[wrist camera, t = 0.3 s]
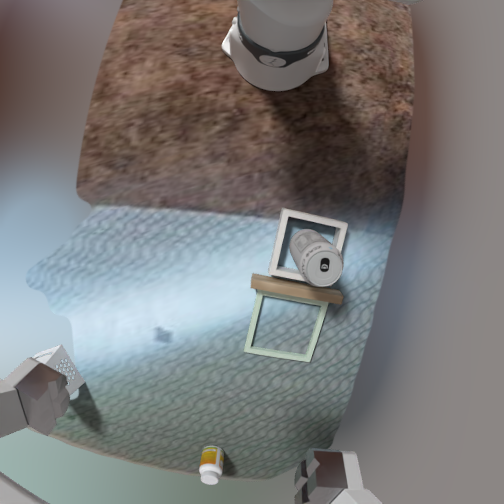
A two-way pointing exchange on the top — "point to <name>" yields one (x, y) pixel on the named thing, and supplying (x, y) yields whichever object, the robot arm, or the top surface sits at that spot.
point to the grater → (56, 358)
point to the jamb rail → (296, 289)
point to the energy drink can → (316, 258)
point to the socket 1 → (285, 212)
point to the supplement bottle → (211, 464)
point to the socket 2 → (282, 354)
